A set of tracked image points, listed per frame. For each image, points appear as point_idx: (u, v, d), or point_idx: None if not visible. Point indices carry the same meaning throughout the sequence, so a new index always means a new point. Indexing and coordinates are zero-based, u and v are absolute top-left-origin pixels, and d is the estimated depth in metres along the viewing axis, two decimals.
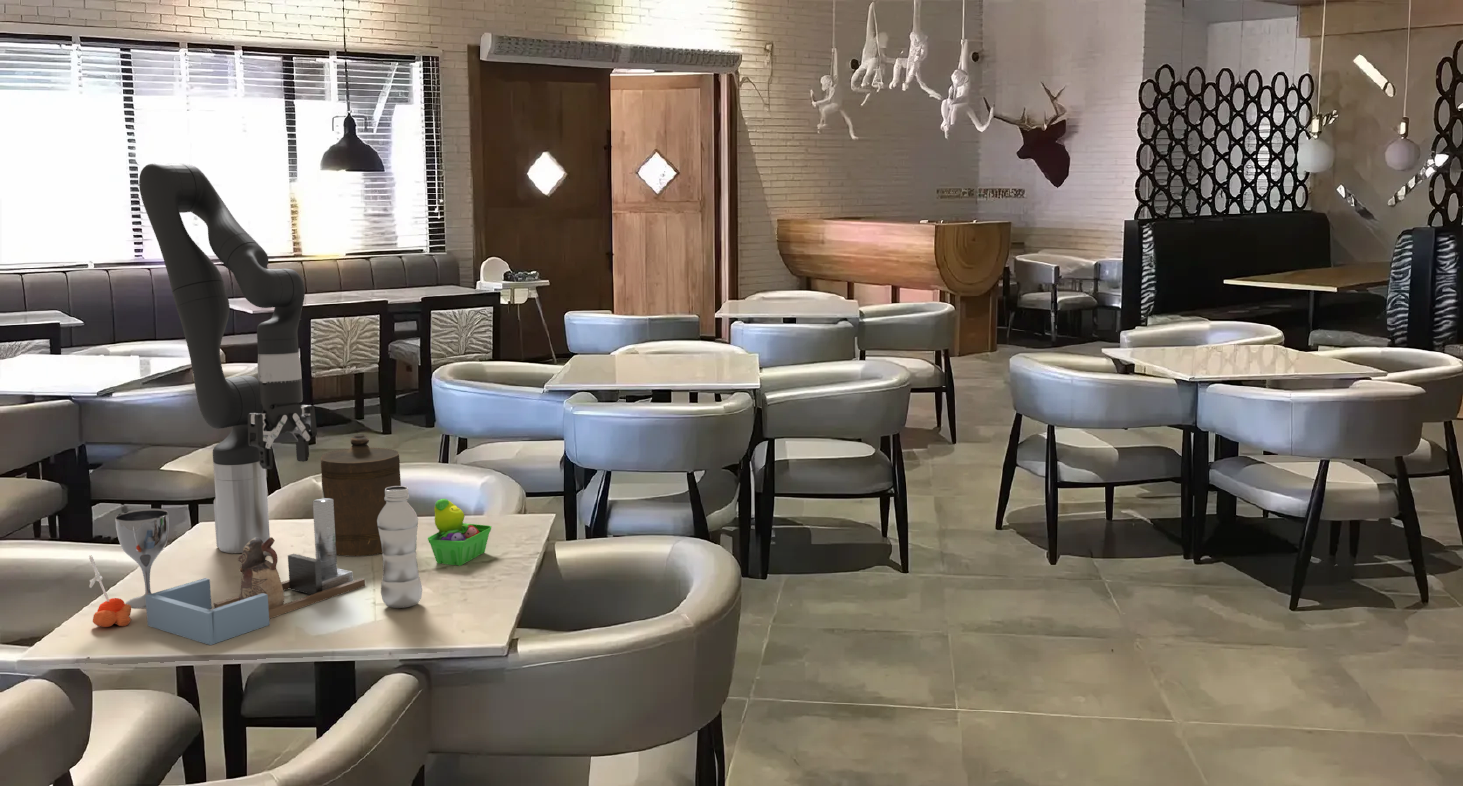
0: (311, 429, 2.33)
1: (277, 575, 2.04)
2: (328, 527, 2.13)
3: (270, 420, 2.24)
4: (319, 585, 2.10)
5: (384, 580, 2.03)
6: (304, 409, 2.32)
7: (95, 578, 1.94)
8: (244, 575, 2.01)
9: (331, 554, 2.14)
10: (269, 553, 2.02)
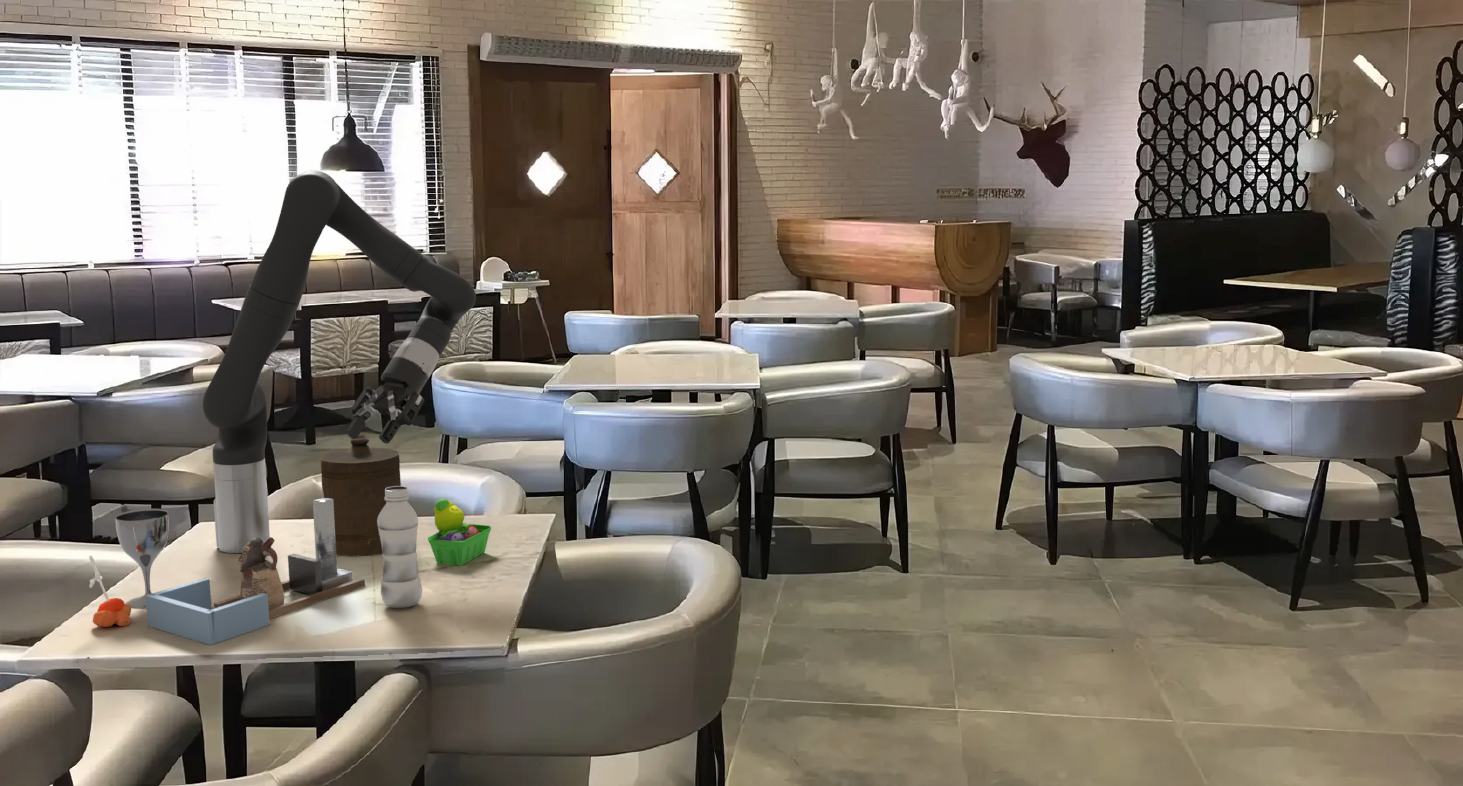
0: (364, 413, 2.29)
1: (277, 575, 2.04)
2: (328, 527, 2.13)
3: None
4: (319, 585, 2.10)
5: (384, 580, 2.03)
6: None
7: (95, 578, 1.94)
8: (244, 575, 2.01)
9: (331, 554, 2.14)
10: (269, 553, 2.02)
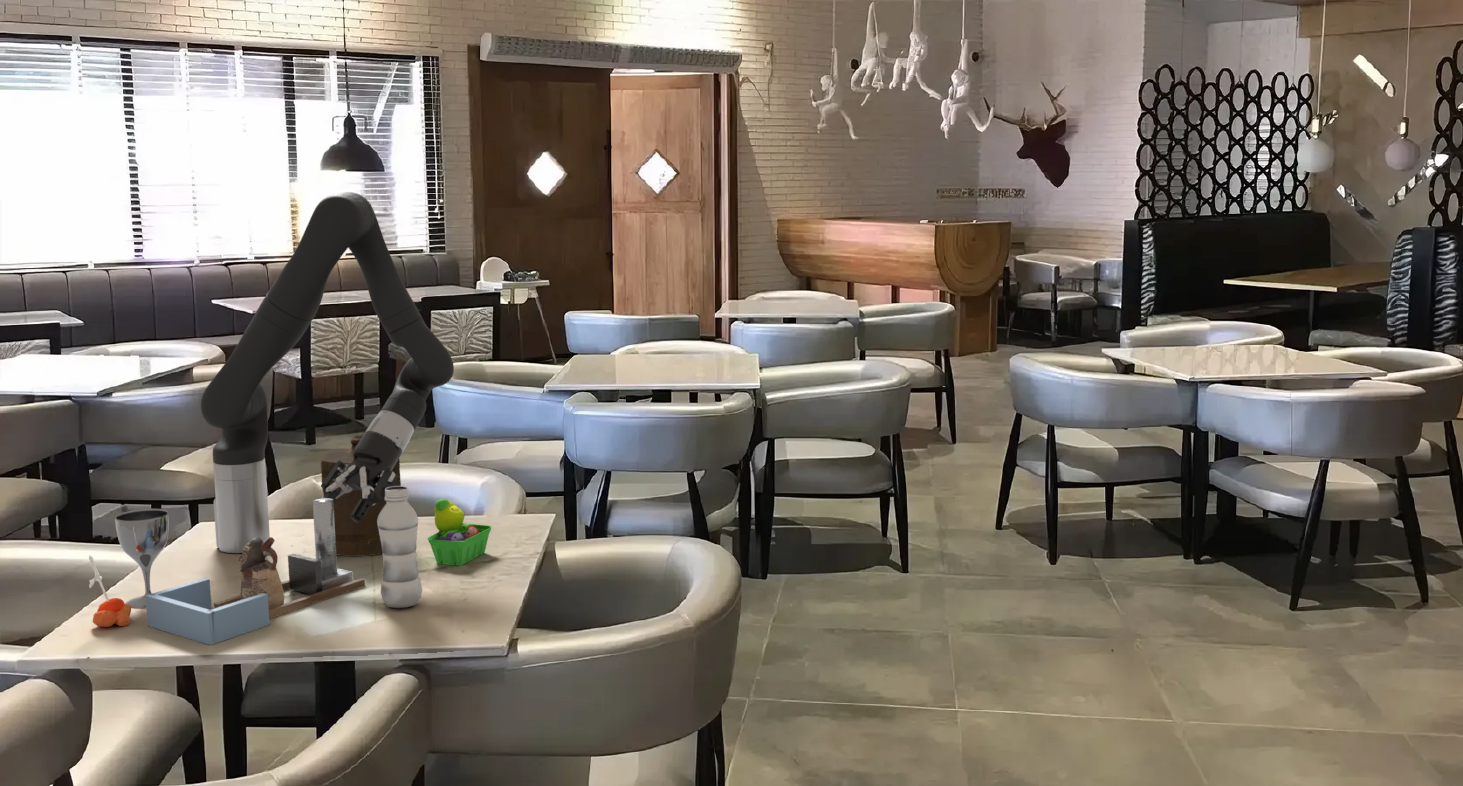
0: (336, 488, 2.23)
1: (277, 575, 2.04)
2: (328, 527, 2.13)
3: None
4: (319, 585, 2.10)
5: (384, 580, 2.03)
6: None
7: (95, 578, 1.94)
8: (244, 575, 2.01)
9: (331, 554, 2.14)
10: (269, 553, 2.02)
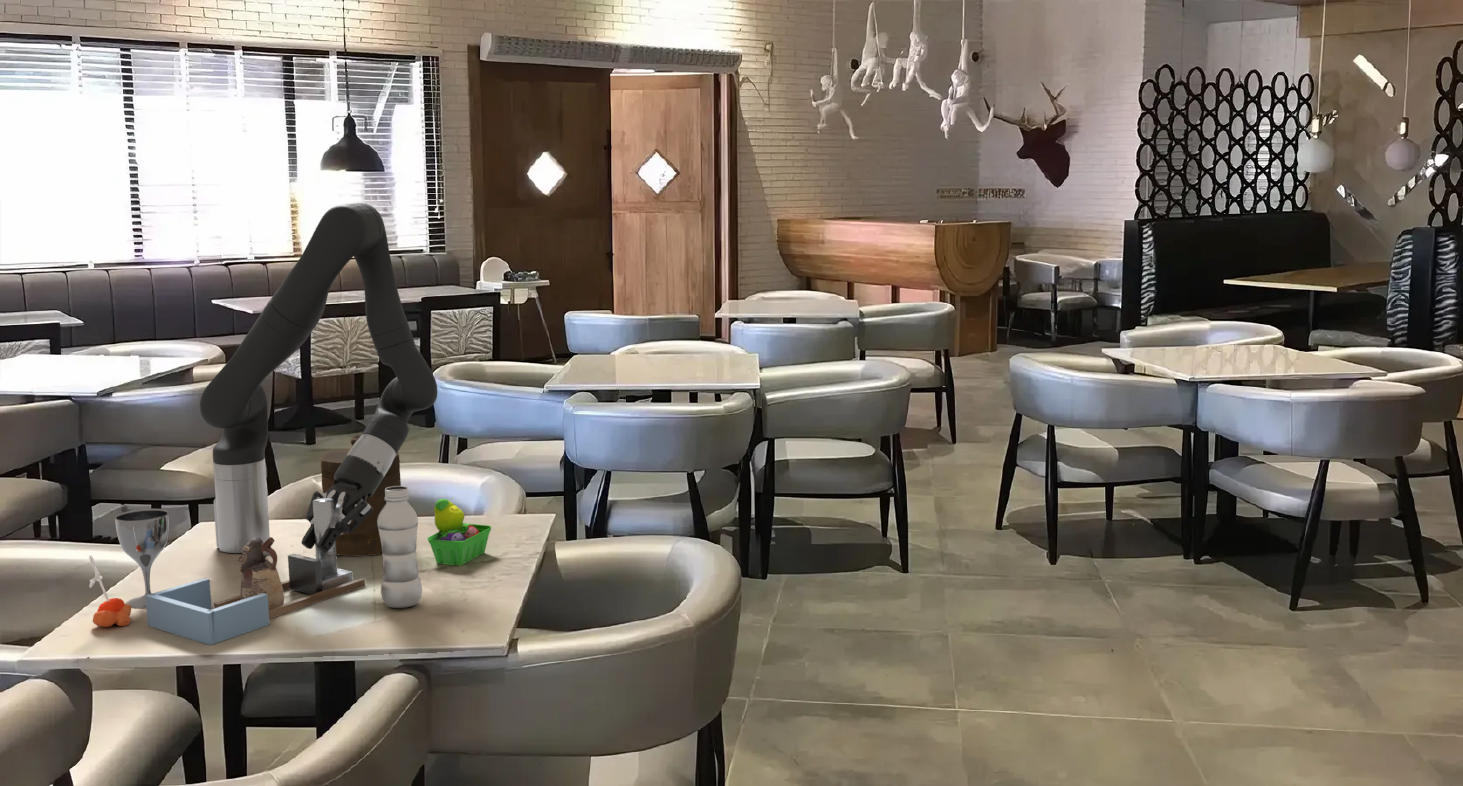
0: None
1: (277, 575, 2.04)
2: (328, 527, 2.13)
3: None
4: (319, 585, 2.10)
5: (384, 580, 2.03)
6: None
7: (95, 578, 1.94)
8: (244, 575, 2.01)
9: (331, 554, 2.14)
10: (269, 553, 2.02)
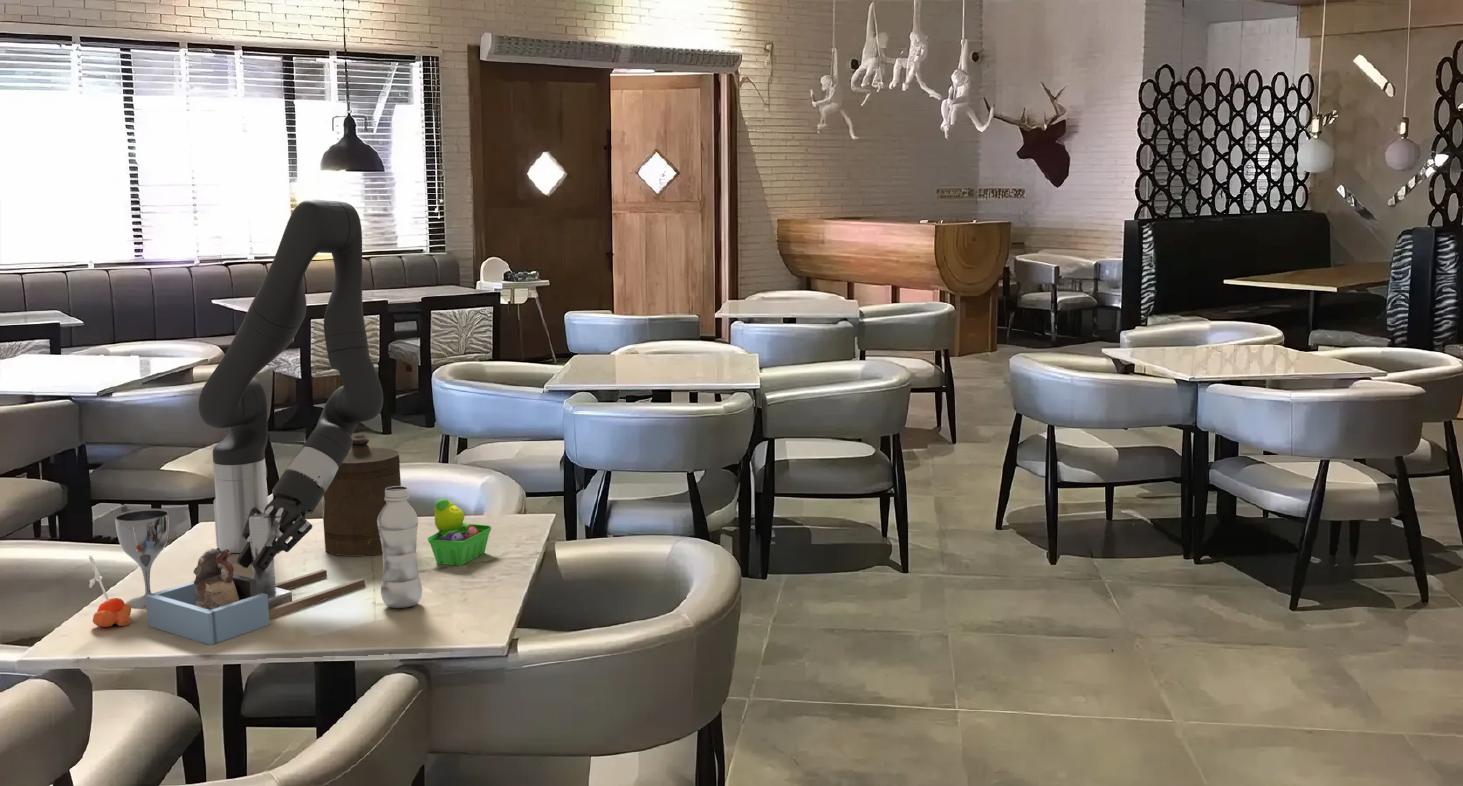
0: None
1: (233, 588, 1.97)
2: (265, 545, 2.02)
3: None
4: None
5: (384, 580, 2.03)
6: None
7: (95, 578, 1.94)
8: (198, 588, 1.95)
9: (268, 573, 2.03)
10: (224, 565, 1.96)
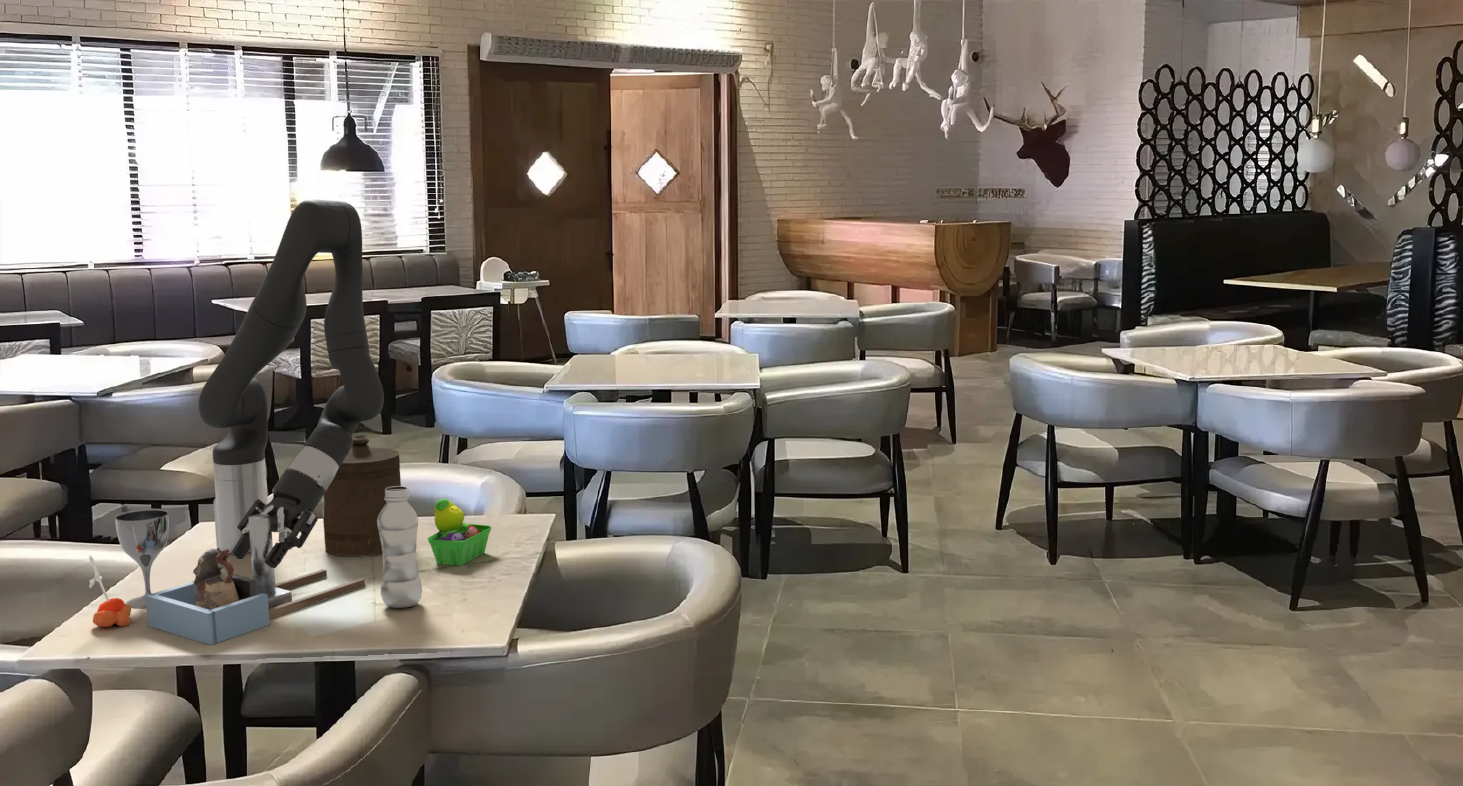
0: None
1: (232, 588, 1.97)
2: (265, 545, 2.02)
3: None
4: None
5: (384, 580, 2.03)
6: None
7: (95, 578, 1.94)
8: (197, 588, 1.95)
9: (268, 573, 2.03)
10: (224, 565, 1.96)
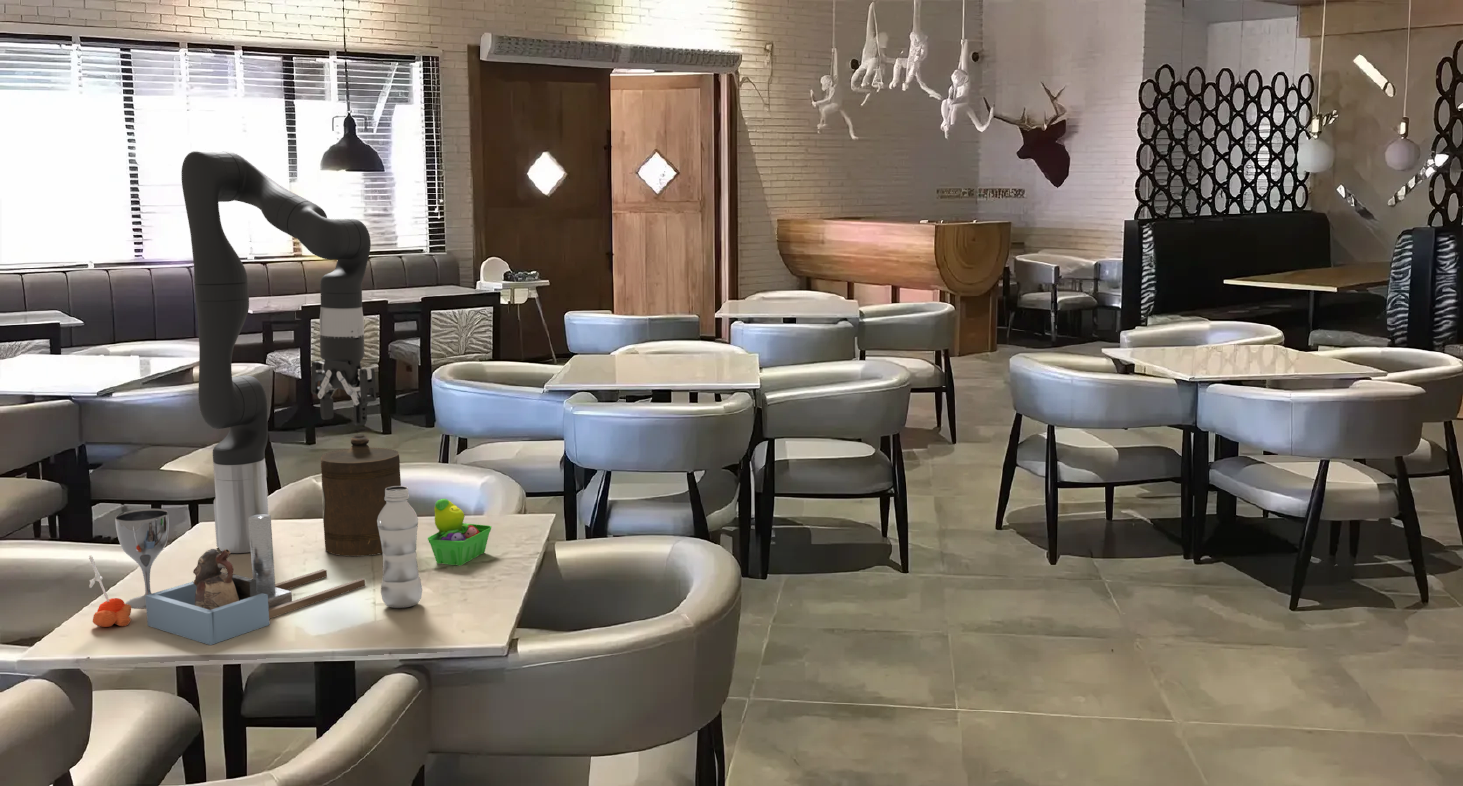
0: None
1: (232, 588, 1.97)
2: (265, 545, 2.02)
3: None
4: None
5: (384, 580, 2.03)
6: None
7: (95, 578, 1.94)
8: (197, 588, 1.95)
9: (268, 573, 2.03)
10: (224, 566, 1.96)
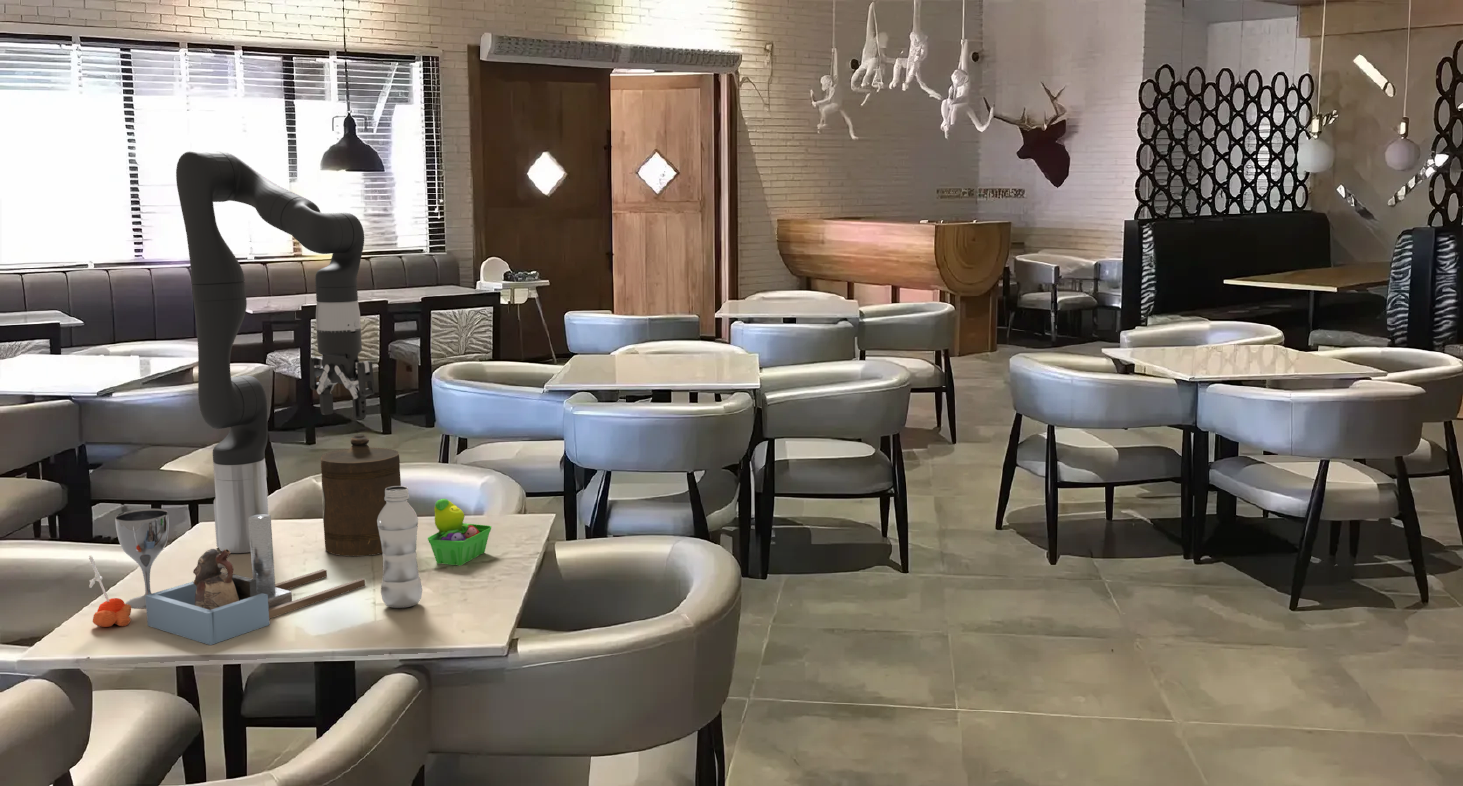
0: None
1: (232, 588, 1.97)
2: (265, 545, 2.02)
3: None
4: None
5: (384, 580, 2.03)
6: None
7: (95, 578, 1.94)
8: (197, 588, 1.95)
9: (268, 573, 2.03)
10: (224, 565, 1.96)
